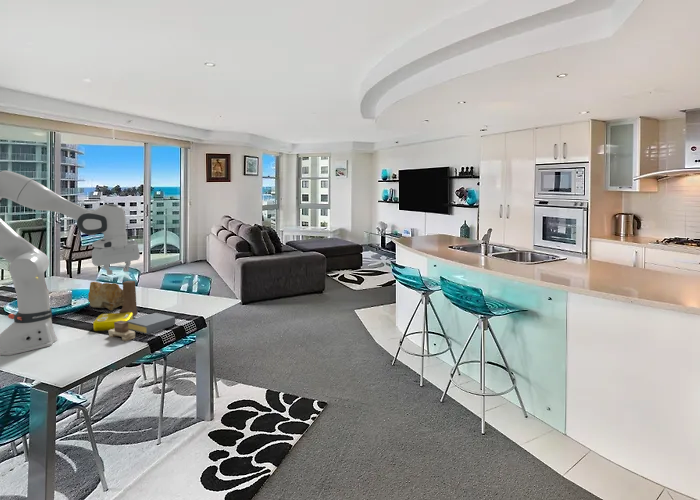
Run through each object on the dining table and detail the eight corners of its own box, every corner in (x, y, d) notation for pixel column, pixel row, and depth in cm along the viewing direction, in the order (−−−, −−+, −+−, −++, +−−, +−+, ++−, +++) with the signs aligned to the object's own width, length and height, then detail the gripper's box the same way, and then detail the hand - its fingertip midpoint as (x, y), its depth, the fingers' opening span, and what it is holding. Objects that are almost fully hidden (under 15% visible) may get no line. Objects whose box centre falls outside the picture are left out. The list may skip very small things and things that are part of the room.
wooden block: (128, 319, 223) (126, 284, 221) (119, 319, 223) (117, 284, 221) (137, 314, 232) (135, 280, 229) (128, 314, 232) (126, 280, 230)
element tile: (128, 329, 209) (127, 319, 209) (92, 332, 205) (91, 322, 205) (133, 320, 224) (133, 310, 223) (100, 322, 220) (100, 312, 219)
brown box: (122, 332, 195) (121, 324, 194) (114, 331, 197) (114, 322, 196) (128, 330, 198) (128, 322, 197) (121, 329, 200) (120, 320, 199)
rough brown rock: (138, 308, 245) (138, 281, 244) (107, 313, 231) (107, 284, 231) (115, 303, 258) (115, 277, 257) (85, 307, 244) (85, 280, 243)
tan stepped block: (126, 341, 193) (125, 334, 192) (108, 336, 199) (108, 330, 198) (135, 338, 197) (135, 331, 196) (118, 333, 203) (117, 327, 202)
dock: (146, 334, 202) (145, 326, 201) (126, 329, 208) (125, 321, 208) (175, 324, 216) (175, 316, 215) (155, 320, 222) (155, 312, 222)
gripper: (132, 238, 202) (134, 268, 204) (88, 243, 184) (91, 276, 186) (141, 239, 199) (143, 269, 201) (97, 244, 181) (100, 277, 183)
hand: (118, 272), depth 194 cm, fingers open, 6 cm apart
